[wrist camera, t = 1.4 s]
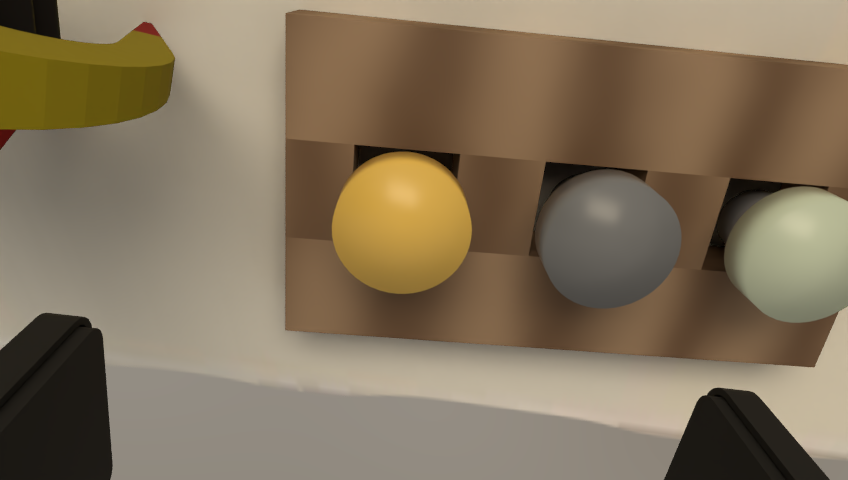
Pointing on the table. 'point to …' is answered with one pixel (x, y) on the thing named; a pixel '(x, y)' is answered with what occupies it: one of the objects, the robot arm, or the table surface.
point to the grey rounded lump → (607, 238)
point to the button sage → (788, 251)
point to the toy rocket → (75, 73)
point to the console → (524, 167)
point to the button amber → (402, 223)
